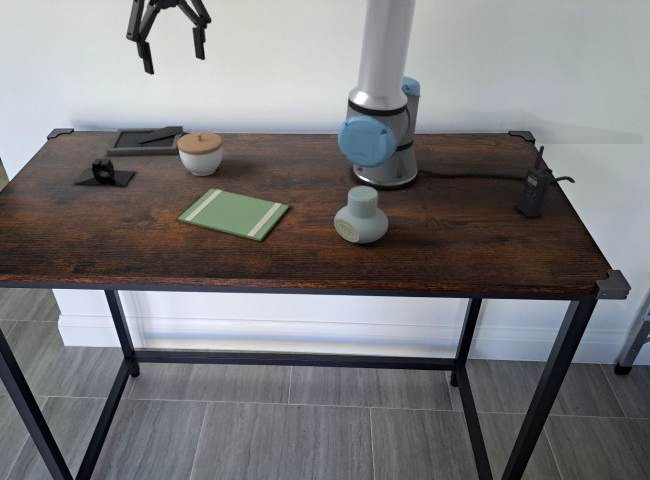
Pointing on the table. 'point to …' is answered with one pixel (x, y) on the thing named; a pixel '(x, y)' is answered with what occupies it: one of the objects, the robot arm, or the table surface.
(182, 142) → the trinket box
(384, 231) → the air freshener
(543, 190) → the two-way radio
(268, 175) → the table surface
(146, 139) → the picture frame
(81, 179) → the black mounting bracket
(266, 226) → the towel
